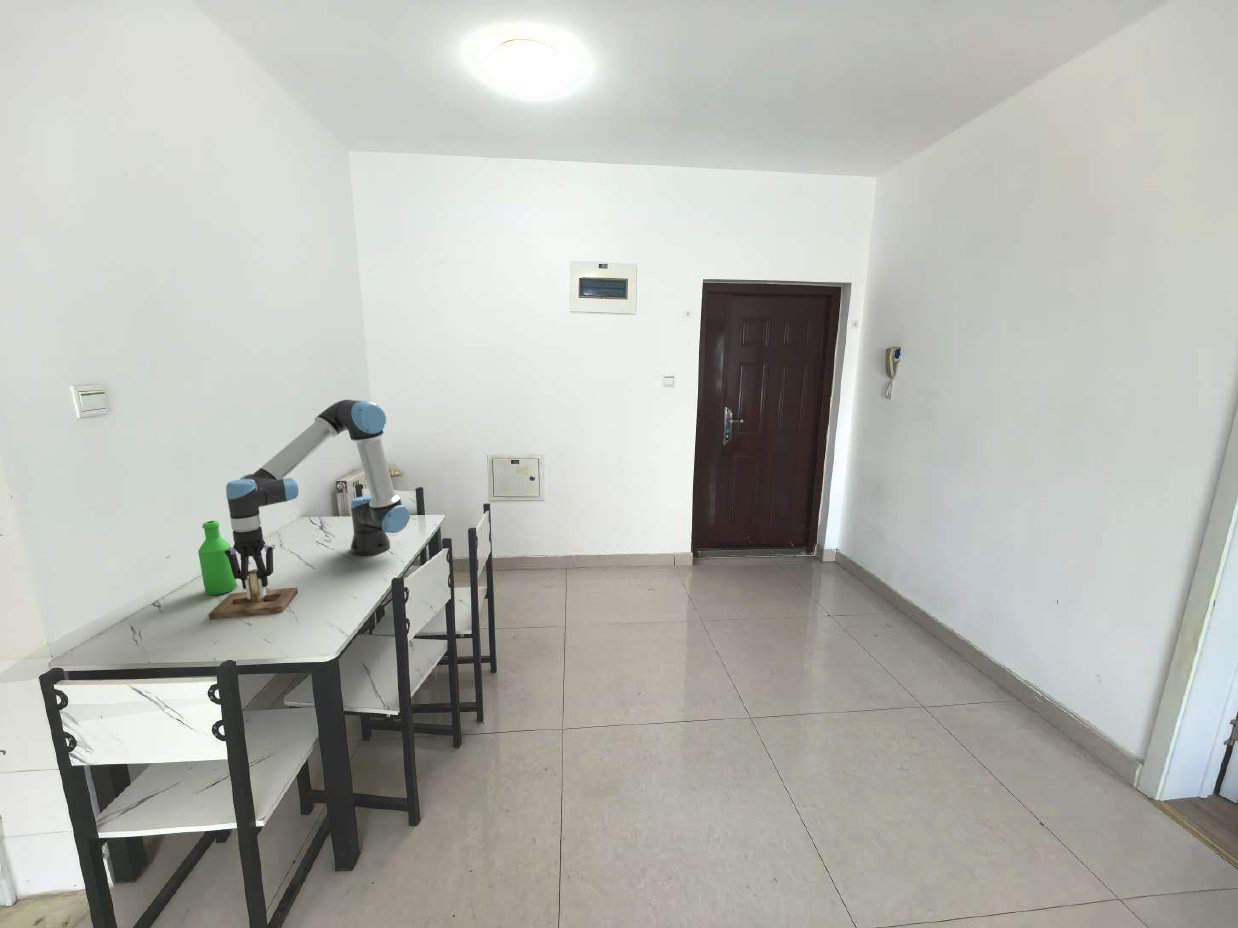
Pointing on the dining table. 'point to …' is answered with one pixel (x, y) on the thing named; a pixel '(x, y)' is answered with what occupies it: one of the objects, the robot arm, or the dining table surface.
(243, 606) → the keyhole board
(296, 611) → the dining table surface
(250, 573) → the peg
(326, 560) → the dining table surface
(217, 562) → the bottle
